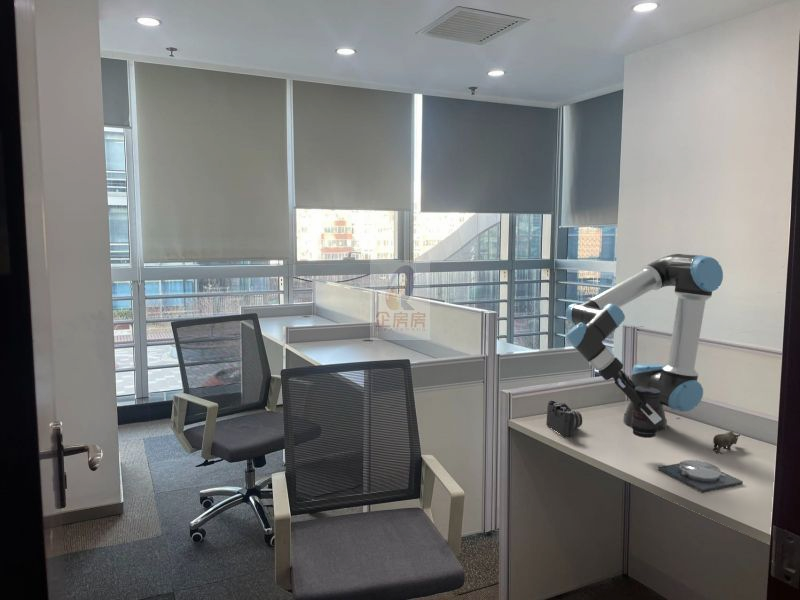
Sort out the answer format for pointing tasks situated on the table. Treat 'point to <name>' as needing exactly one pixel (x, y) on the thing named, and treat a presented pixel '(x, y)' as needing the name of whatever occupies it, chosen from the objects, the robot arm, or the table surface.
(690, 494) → the table surface
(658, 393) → the camera lens
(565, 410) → the camera
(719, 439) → the rhino figurine
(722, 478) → the mount
